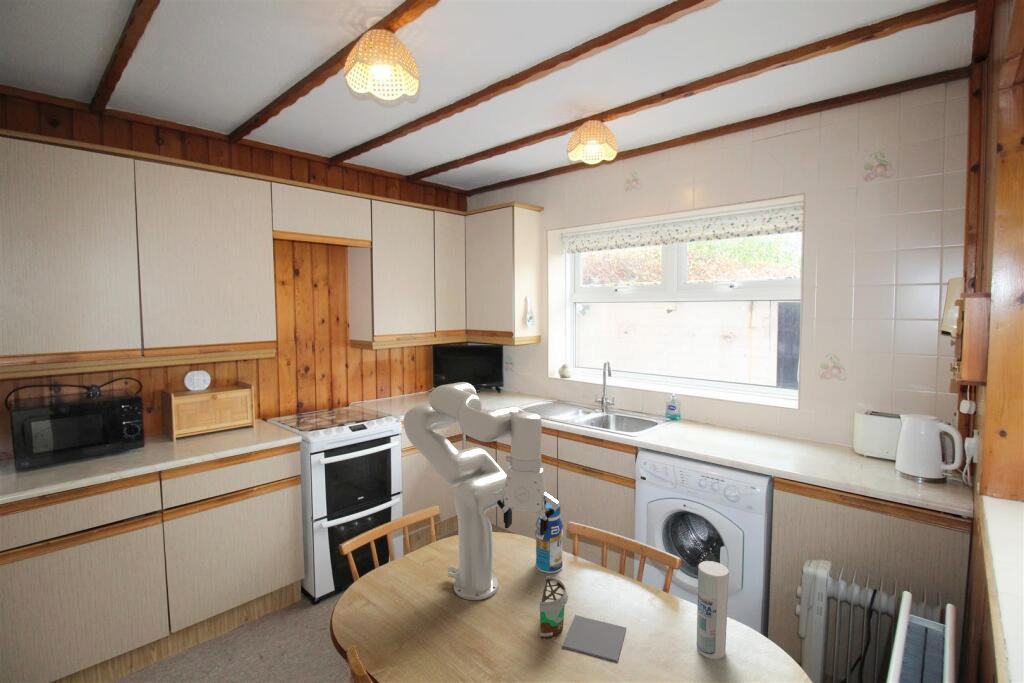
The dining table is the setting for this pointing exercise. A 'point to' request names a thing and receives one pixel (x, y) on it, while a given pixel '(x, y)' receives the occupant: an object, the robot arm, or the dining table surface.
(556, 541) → the beverage bottle
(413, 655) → the dining table surface
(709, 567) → the spray can
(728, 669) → the dining table surface
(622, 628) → the mat
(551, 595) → the food container
